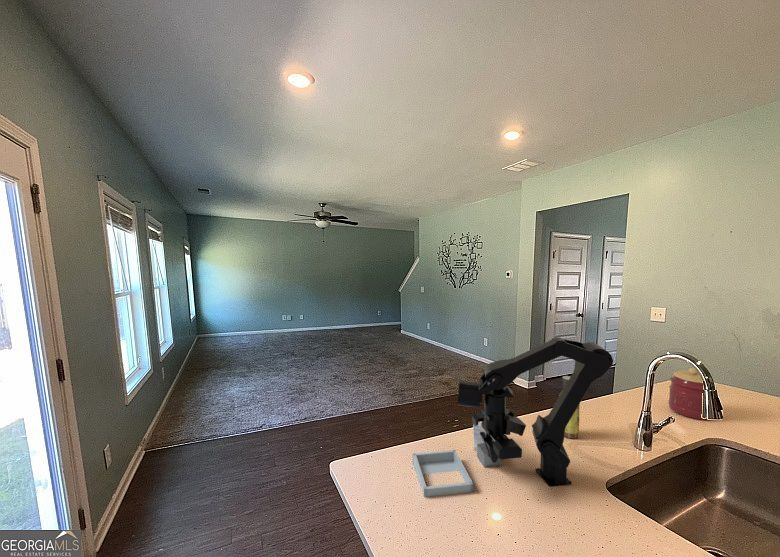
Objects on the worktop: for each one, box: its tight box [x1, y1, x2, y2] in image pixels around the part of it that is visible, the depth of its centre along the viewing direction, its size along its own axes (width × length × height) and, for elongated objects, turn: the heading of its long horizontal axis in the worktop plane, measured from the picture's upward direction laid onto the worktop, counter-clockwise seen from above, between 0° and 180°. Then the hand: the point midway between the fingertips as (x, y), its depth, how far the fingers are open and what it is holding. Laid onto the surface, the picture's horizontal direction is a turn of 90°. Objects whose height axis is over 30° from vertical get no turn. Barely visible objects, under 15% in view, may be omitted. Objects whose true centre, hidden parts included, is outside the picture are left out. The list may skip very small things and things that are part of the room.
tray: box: [412, 449, 475, 498], centre depth 83 cm, size 14×13×4 cm
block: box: [476, 443, 502, 468], centre depth 90 cm, size 5×5×4 cm
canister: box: [668, 367, 717, 421], centre depth 118 cm, size 13×13×18 cm
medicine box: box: [472, 421, 484, 451], centre depth 98 cm, size 8×4×9 cm, turn 149°
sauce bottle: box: [558, 375, 580, 439], centre depth 104 cm, size 6×6×20 cm
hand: (494, 461), depth 86 cm, fingers closed
